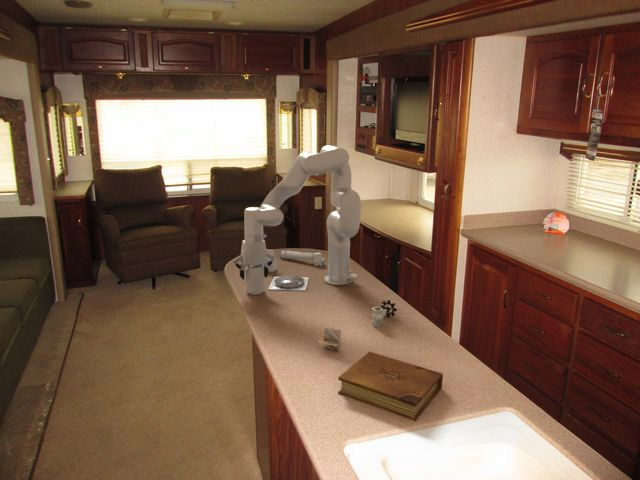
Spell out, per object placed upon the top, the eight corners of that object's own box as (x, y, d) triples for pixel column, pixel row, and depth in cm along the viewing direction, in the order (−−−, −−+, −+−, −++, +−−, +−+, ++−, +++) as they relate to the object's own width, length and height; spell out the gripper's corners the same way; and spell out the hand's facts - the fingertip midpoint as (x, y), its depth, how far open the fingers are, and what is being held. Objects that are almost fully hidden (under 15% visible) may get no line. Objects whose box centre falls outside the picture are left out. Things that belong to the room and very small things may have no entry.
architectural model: (337, 355, 166) (337, 334, 164) (317, 352, 168) (317, 331, 166) (341, 351, 169) (341, 330, 167) (321, 347, 171) (321, 326, 169)
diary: (441, 390, 147) (443, 372, 145) (415, 423, 132) (416, 403, 130) (369, 366, 159) (370, 349, 158) (337, 394, 144) (338, 376, 143)
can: (268, 290, 220) (267, 263, 217) (258, 296, 213) (258, 269, 210) (253, 288, 223) (252, 261, 220) (243, 293, 216) (242, 266, 213)
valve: (383, 329, 184) (396, 318, 194) (383, 312, 182) (397, 301, 192) (366, 325, 187) (380, 314, 197) (366, 308, 185) (381, 298, 195)
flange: (309, 278, 235) (309, 274, 235) (305, 290, 220) (305, 287, 219) (274, 277, 236) (274, 273, 236) (268, 289, 221) (268, 286, 221)
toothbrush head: (284, 249, 267) (325, 250, 253) (285, 261, 268) (326, 263, 255) (278, 251, 263) (319, 252, 249) (279, 264, 264) (321, 266, 250)
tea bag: (272, 272, 244) (272, 251, 241) (260, 270, 246) (259, 249, 244) (276, 269, 247) (276, 249, 244) (264, 267, 250) (263, 247, 247)
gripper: (271, 234, 218) (271, 272, 223) (230, 236, 212) (231, 276, 216) (276, 238, 211) (276, 278, 216) (234, 241, 205) (235, 282, 210)
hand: (254, 277), depth 216 cm, fingers open, 9 cm apart
